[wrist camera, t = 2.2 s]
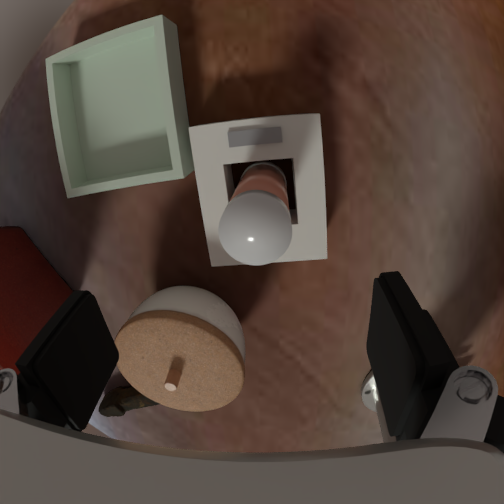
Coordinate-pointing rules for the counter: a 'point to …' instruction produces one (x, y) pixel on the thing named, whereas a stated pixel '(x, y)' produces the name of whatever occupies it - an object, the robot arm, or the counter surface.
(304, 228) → the block
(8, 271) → the plant pot
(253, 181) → the cylinder
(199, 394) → the lidded bowl
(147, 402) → the hand tool
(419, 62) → the counter surface
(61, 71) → the parts tray
